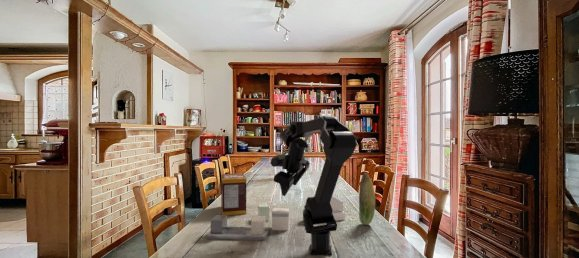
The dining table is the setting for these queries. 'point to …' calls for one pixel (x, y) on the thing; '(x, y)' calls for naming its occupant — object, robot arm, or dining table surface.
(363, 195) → the vegetable
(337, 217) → the white angled block
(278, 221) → the block
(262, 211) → the green block
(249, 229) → the rail
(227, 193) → the supplement box
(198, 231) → the dining table surface
